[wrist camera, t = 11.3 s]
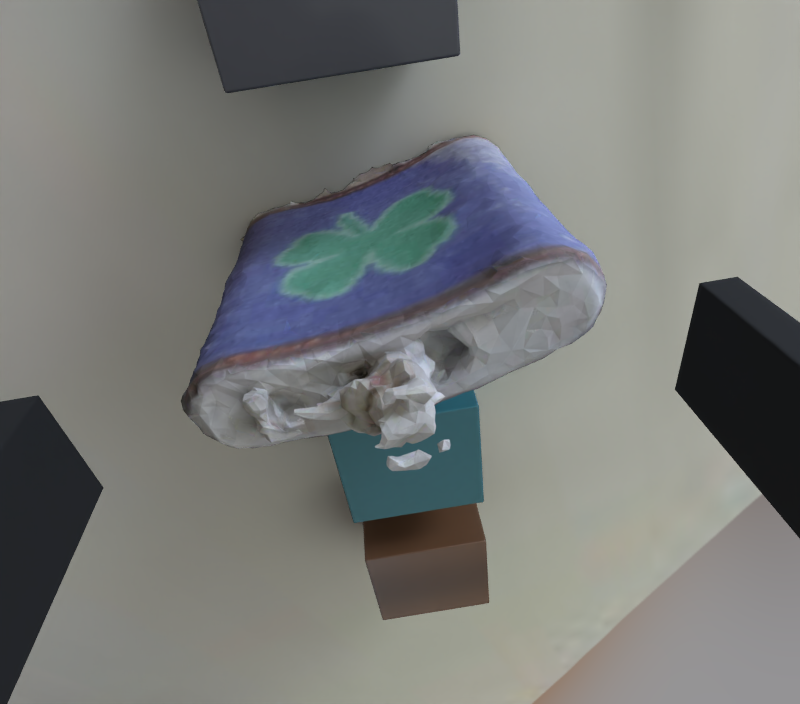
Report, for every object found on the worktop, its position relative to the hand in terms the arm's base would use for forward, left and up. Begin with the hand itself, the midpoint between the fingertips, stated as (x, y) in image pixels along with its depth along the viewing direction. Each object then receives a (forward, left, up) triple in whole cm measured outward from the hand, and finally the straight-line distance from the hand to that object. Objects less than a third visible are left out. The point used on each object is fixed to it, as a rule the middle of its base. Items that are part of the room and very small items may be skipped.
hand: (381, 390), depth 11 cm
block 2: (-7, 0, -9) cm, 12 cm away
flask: (0, 0, -9) cm, 9 cm away
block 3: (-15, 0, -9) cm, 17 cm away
